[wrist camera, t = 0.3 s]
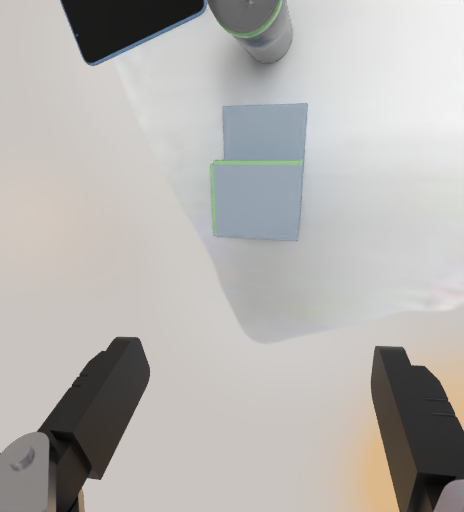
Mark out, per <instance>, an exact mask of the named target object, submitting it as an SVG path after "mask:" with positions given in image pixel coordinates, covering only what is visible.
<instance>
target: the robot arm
mask: <svg viewBox="0 0 464 512" xmlns="http://www.w3.org/2000/svg"><path fill="white" fill-rule="evenodd" d="M149 377H150V367H149V364H148V361H147V359H146V356H145V353H144V350H143V347H142V344H141V341H140V339H139V338H136V337H116V338H115V339H114V340H113V341H112V343H111V344H110V345H109V347H108V348H107V350H106V351H101V352H100V353H99V354H98V355H96V356H95V357H94V358H93V359H92V360H90V361H89V362H88V363H87V365H86V366H85V368H84V369H83V370H82V372H81V373H80V376H79V377H77V379H76V380H75V381H74V382H73V384H72V387H71V388H69V389H68V391H67V392H66V393H65V395H64V396H63V398H62V399H61V400H60V402H59V403H58V404H57V405H56V407H55V408H54V410H53V411H52V412H51V414H50V415H49V416H48V418H47V419H46V420H45V422H44V423H43V424H42V426H41V427H40V428H39V429H38V431H37V432H33V433H29V434H26V435H24V436H22V437H20V438H18V439H17V440H15V441H14V442H13V443H11V444H10V445H9V446H8V447H7V448H6V449H5V450H4V451H3V452H2V453H0V512H85V510H84V495H83V490H82V486H83V485H84V483H85V481H86V479H87V478H91V479H98V480H101V478H102V476H103V474H104V472H105V470H106V468H107V466H108V464H109V462H110V460H111V458H112V456H113V454H114V452H115V450H116V448H117V445H118V444H119V441H120V440H121V438H122V435H123V433H124V431H125V429H126V427H127V425H128V423H129V421H130V419H131V417H132V415H133V413H134V411H135V409H136V407H137V405H138V403H139V401H140V399H141V397H142V395H143V393H144V391H145V389H146V387H147V384H148V381H149ZM371 393H372V399H373V404H374V408H375V412H376V416H377V420H378V424H379V428H380V433H381V437H382V440H383V444H384V449H385V453H386V457H387V461H388V465H389V469H390V474H391V478H392V482H393V486H394V490H395V494H396V498H397V503H398V507H399V511H400V512H464V431H463V429H462V427H461V425H460V423H459V420H458V418H457V417H456V416H455V412H454V410H453V408H452V406H451V404H450V402H448V398H447V396H446V393H445V391H444V389H443V387H442V385H441V383H440V381H439V380H438V379H437V378H436V377H435V376H434V375H433V374H432V373H431V372H430V371H429V370H428V369H427V368H426V367H425V366H413V365H411V364H410V361H409V359H408V357H407V354H406V351H405V350H404V348H403V347H388V346H376V347H375V351H374V359H373V367H372V376H371Z"/></svg>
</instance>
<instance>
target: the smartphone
mask: <svg viewBox="0 0 464 512" xmlns="http://www.w3.org/2000/svg"><path fill="white" fill-rule="evenodd" d="M60 1H61V4H62V7H63V10H64V12H65V15H66V17H67V20H68V22H69V25H70V27H71V30H72V32H73V35H74V38H75V40H76V42H77V45H78V48H79V50H80V53H81V55H82V57H83V59H84V61H85V62H86V63H87V64H88V65H91V66H95V65H98V64H100V63H102V62H104V61H106V60H108V59H111V58H112V57H114V56H116V55H118V54H120V53H123V52H125V51H127V50H129V49H131V48H133V47H135V46H137V45H139V44H141V43H143V42H146V41H148V40H150V39H152V38H154V37H156V36H158V35H160V34H162V33H164V32H167V31H169V30H171V29H173V28H175V27H177V26H179V25H181V24H183V23H185V22H187V21H190V20H192V19H194V18H196V17H198V16H200V15H201V14H202V13H203V12H204V11H205V9H206V5H207V1H206V0H60Z"/></svg>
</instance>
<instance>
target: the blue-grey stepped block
mask: <svg viewBox="0 0 464 512" xmlns="http://www.w3.org/2000/svg"><path fill="white" fill-rule="evenodd" d="M306 121H307V103H301V104H275V105H248V106H223V132H224V160H214V164H211V165H210V172H211V192H212V212H213V233H214V236H217V237H233V238H250V239H267V240H285V241H298V233H299V225H300V214H301V198H302V183H303V167H304V152H305V136H306Z"/></svg>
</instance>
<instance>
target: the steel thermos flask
mask: <svg viewBox="0 0 464 512" xmlns="http://www.w3.org/2000/svg"><path fill="white" fill-rule="evenodd" d="M207 1H208V4H209V6H210V9H211V11H212V12H213V14H214V16H215V18H216V19H217V21H218V22H219V24H220V25H221V26H222V27H223V28H224V29H225V30H226V31H227V32H229V33H230V34H232V35H233V36H234V37H235V38H236V39H237V40H238V41H239V43H240V44H241V45H242V46H243V47H244V48H245V49H246V50H247V51H248V52H249V53H250V54H251V55H252V56H253V57H254V58H255V59H256V60H257V61H259V62H262V63H273V62H276V61H278V60H279V59H281V58H282V57H283V56H284V55H285V54H286V52H287V51H288V49H289V47H290V44H291V41H292V25H291V21H290V16H289V12H288V7H287V3H286V0H207Z"/></svg>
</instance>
